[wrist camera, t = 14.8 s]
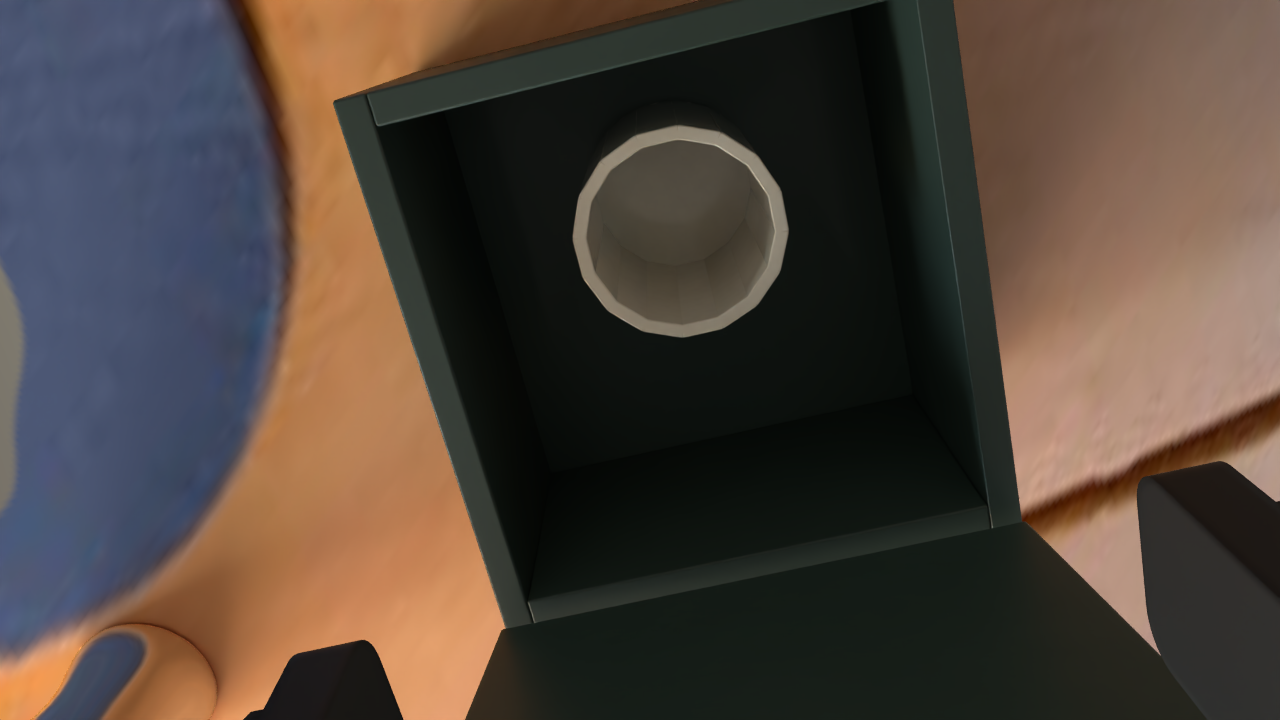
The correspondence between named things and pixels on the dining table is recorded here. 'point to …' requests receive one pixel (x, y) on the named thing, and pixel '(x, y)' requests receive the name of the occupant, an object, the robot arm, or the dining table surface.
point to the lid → (849, 646)
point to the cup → (678, 221)
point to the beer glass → (135, 679)
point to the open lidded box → (714, 361)
